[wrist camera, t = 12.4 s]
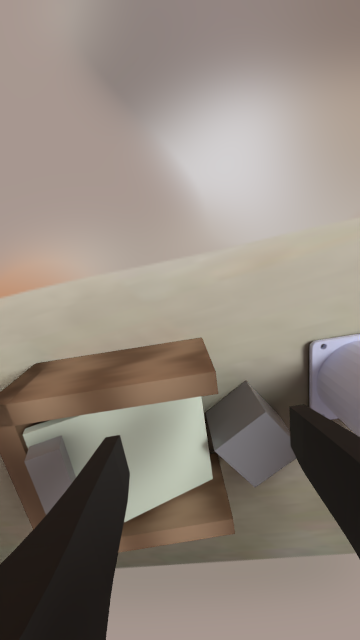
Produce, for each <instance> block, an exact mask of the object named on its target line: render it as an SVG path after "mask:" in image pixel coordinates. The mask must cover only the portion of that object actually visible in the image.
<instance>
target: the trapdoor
mask: <svg viewBox="0 0 360 640" xmlns="http://www.w3.org/2000/svg"><path fill="white" fill-rule="evenodd" d="M116 435H120V437H121V441H122V445H123V448H124V452H125V456H126V460H127V464H128V467H129V471H130V480H129V493H128V503H127V508H126V514H125V519H124V522H126V521H128V520H130V519H132V518H134V517H136V516H138V515H140V514H142V513H144V512H146V511H148V510H150V509H152V508H155V507H157V506H159V505H161V504H163V503H165V502H167V501H169V500H171V499H173V498H175V497H177V496H179V495H181V494H183V493H185V492H187V491H189V490H191V489H193V488H195V487H197V486H199V485H201V484H203V483H205V482H207V481H209V480H211V479H213V475H212V468H211V461H210V454H209V447H208V440H207V433H206V426H205V419H204V412H203V405H202V398H201V396H200V397H194V398H187V399H181V400H175V401H168V402H162V403H156V404H149V405H143V406H137V407H130V408H124V409H118V410H111V411H105V412H99V413H92V414H86V415H80V416H73V417H67V418H61V419H54V420H50V421H47V422H43V423H40V424H37V425H34V426H31V427H28V428H25V430H24V432H23V437H24V440H25V442H26V445H27V447H28V452H27V455H26V458H25V461H24V462H25V465H26V467H27V470H28V472H29V474H30V477H31V479H32V482H33V484H34V487H35V489H36V492H37V494H38V496H39V499H40V501H41V504H42V506H43V509H44V511H45V514H46V515H47V513H48V512H49V511H50V510H51V509H52V507H53V506H54V505H55V504H56V502H57V501H58V500H59V499H60V497H61V496H62V495H63V494H64V493H65V491H66V490H67V489H68V487H69V486H70V485H71V484H72V482H73V481H74V480H75V478H76V477H77V476H78V474H79V473H80V472H81V470H82V469H83V467H84V466H85V465H86V463H87V462H88V461H89V459H90V458H91V456H92V455H93V454H94V452H95V451H96V449H97V448H98V447H99V445H100V444H101V443H102V441H103V440H104V439H105V437H110V436H116Z"/></svg>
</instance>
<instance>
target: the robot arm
mask: <svg viewBox="0 0 360 640" xmlns="http://www.w3.org/2000/svg"><path fill="white" fill-rule="evenodd" d="M322 344H324V345H323V347H321V345H322ZM338 418H339V419H340V420H341V421H342V422H343V423H344V424H345V425H346V426H348V427H349V428H350V429H351V430H352V431H353V432H354V433H355V434H356V435H355V434H354V433H352V432H350V431H348V430H347V429H345V428H343V427H341V426H340V425H338V424H336V423H335V422H333V421H331V420H332V419H338ZM290 446H291V448H292V450H293V452H294V454H295V456H296V458H297V460H298V462H299V464H300V466H301V468H302V470H303V471H304V473H305V475H306V476H307V478H308V479H309V481H310V482H311V484H312V485H313V487H314V488H315V490H316V492H317V493H318V495H319V496H320V498H321V499H322V501H323V502H324V504H325V505H326V507H327V508H328V510H329V511H330V513H331V514H332V516H333V517H334V519H335V520H336V522H337V523H338V525H339V526H340V528H341V529H342V531H343V532H344V534H345V535H346V537H347V539H348V540H349V542H350V543H351V545H352V547H353V548H354V550H355V552H356V553H357V555H358V557H359V559H360V334H354V335H348V336H341V337H335V338H328V339H322V340H316V341H313V342H312V343H311V344H310V408H309V407H308V406H306V405H304V404H303V405H297V406H291V407H290ZM129 480H130V471H129V467H128V464H127V460H126V456H125V452H124V448H123V445H122V441H121V437H120V435H116V436H110V437H105V439H104V440H103V441H102V443H101V444H100V445H99V447H98V448H97V449H96V451H95V452H94V454H93V455H92V456H91V458H90V459H89V461H88V462H87V463H86V465H85V466H84V467H83V469H82V470H81V472H80V473H79V474H78V476H77V477H76V478H75V480H74V481H73V482H72V484H71V485H70V486H69V487H68V489H67V490H66V491H65V493H64V494H63V495H62V496H61V497H60V499H59V500H58V501H57V502H56V504H55V505H54V506H53V507H52V509H51V510H50V511H49V512H48V513H47V515H46V516H45V517H44V518H43V519H42V521H41V522H40V523H39V524H38V525H37V526H36V527H35V528H34V530H33V531H32V532H31V533H30V534H29V535H28V536H27V537H26V538H25V539H24V540H23V542H22V543H21V544H20V545H19V546H18V547H17V548H16V549H15V550H14V551H13V552H12V553H11V554H10V555H9V556H8V557H7V558H6V559H5V560H4V561H3V562H2V563H1V564H0V640H106V631H107V623H108V614H109V606H110V598H111V591H112V584H113V578H114V572H115V567H116V562H117V556H118V551H119V546H120V540H121V535H122V530H123V525H124V519H125V514H126V508H127V503H128V493H129Z"/></svg>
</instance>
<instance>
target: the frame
mask: <svg viewBox="0 0 360 640" xmlns="http://www.w3.org/2000/svg"><path fill="white" fill-rule="evenodd" d="M213 394H218V388H217V380H216V371H215V369H214V367H213V364H212V362H211V359H210V357H209V354H208V352H207V349H206V347H205V344H204V342H203V339H202V338H196V339H189V340H183V341H177V342H170V343H164V344H157V345H151V346H145V347H138V348H132V349H125V350H119V351H113V352H106V353H100V354H93V355H87V356H81V357H74V358H68V359H61V360H55V361H48V362H42V363H36V364H34V365H33V366H32V367H31V368H30V369H28V370H27V371H26V372H25V373H23V374H22V375H21V376H20V377H19V378H17V379H16V380H15V381H14V382H12V383H11V384H10V385H9V386H7V387H6V388H5V389H4V390H3V391H1V392H0V454H1V457H2V459H3V461H4V464H5V466H6V468H7V470H8V473H9V475H10V477H11V480H12V482H13V484H14V486H15V489H16V491H17V493H18V496H19V498H20V500H21V502H22V505H23V507H24V509H25V512H26V514H27V516H28V518H29V521H30V523H31V525H32V528H33V530H34V528H35V527H36V526H37V525H38V524H39V523H40V522H41V521H42V519H43V518H44V517H45V516H46V514H45V511H44V509H43V506H42V504H41V501H40V499H39V496H38V494H37V492H36V489H35V487H34V484H33V482H32V479H31V477H30V474H29V472H28V470H27V467H26V465H25V462H24V461H25V458H26V455H27V452H28V447H27V445H26V442H25V440H24V437H23V432H24V430H25V428H28V427H31V426H34V425H37V424H40V423H43V422H47V421H50V420H54V419H61V418H67V417H73V416H80V415H86V414H92V413H99V412H105V411H111V410H118V409H124V408H130V407H137V406H143V405H149V404H156V403H162V402H168V401H175V400H181V399H187V398H194V397H200V396H207V395H213ZM210 461H211V468H212V475H213V479H211V480H209V481H207V482H205V483H203V484H201V485H199V486H197V487H195V488H193V489H191V490H189V491H187V492H185V493H183V494H181V495H179V496H177V497H175V498H173V499H171V500H169V501H167V502H165V503H163V504H161V505H159V506H157V507H155V508H152V509H150V510H148V511H146V512H144V513H142V514H140V515H138V516H136V517H134V518H132V519H130V520H128V521H126V522H124V525H123V530H122V535H121V540H120V546H119V551H118V552H124V551H131V550H137V549H143V548H149V547H155V546H162V545H168V544H174V543H180V542H186V541H193V540H199V539H205V538H211V537H217V536H224V535H230V534H235V531H234V523H233V517H232V513H231V509H230V504H229V500H228V496H227V492H226V488H225V484H224V480H223V476H222V472H221V468H220V464H219V460H218V455H217V453H212V454H210Z"/></svg>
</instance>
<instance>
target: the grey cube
mask: <svg viewBox="0 0 360 640" xmlns="http://www.w3.org/2000/svg"><path fill="white" fill-rule="evenodd" d="M206 417H207V421H208V426H209V430H210V434H211V438H212V443H213V447H214V451H215V452H216V453H217V454H218V455H219V456H221V457H222V458H223V459H224V460H225V461H226V462H227V463H228V464H229V465H231V466H232V467H233V468H234V469H235V470H236V471H237V472H238V473H239V474H241V475H242V476H243V477H244V478H245V479H246V480H247V481H248V482H249V483H250V484H252V485H253V486H254V487H256V486H258V485H259V484H261V483H262V482H263V481H265V480H266V479H268V478H269V477H270V476H272V475H273V474H275V473H276V472H278V471H279V470H280V469H282V468H283V467H285V466H286V465H287V464H289V463H290V462H292V461H293V460H294V459H296V456H295V454H294V452H293V450H292V448H291V446H290V431H289V429H288V428H287V426H286V425H285V423H284V422H283V421H282V419H281V418H280V416H279V415H278V414H277V413H276V412H275V410H274V409H273V408H272V407H271V406H270V405H269V404H268V403H267V402H266V401H265V400H264V399H263V398H262V397H261V396H260V395H259V394H258V392H257V391H256V390H255V389H254V388H253V387H252V386H251V385H250V384H249V383H248V382H247V381H244V382H243V383H242V384H241V385H239V386H238V387H237V388H236V389H234V390H233V391H232V392H231V393H229V394H228V395H227V396H226V397H224V398H223V399H222V400H221V401H219V402H218V403H217V404H216V405H214V406H213V407H212V408H211V409H209V410H208V411H207V412H206Z"/></svg>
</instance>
